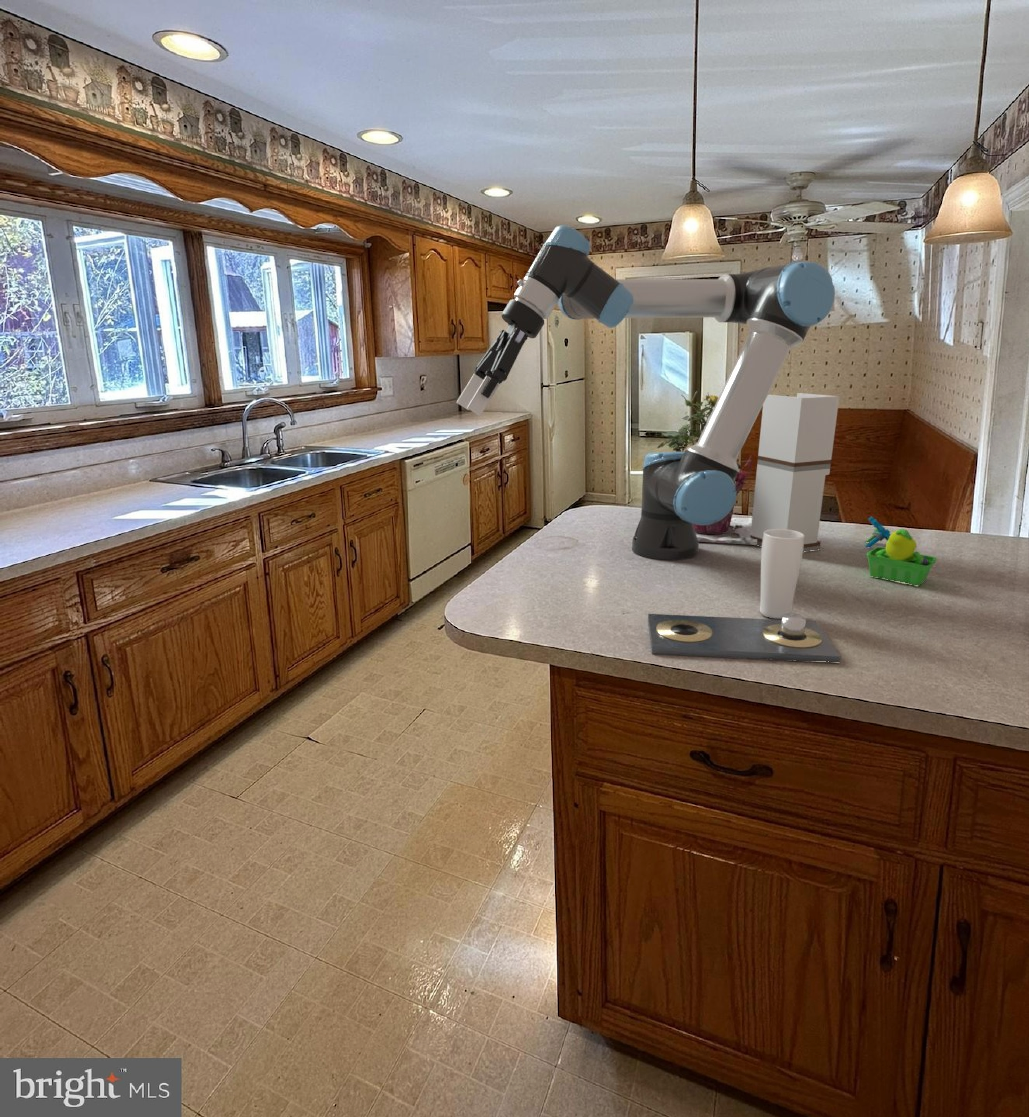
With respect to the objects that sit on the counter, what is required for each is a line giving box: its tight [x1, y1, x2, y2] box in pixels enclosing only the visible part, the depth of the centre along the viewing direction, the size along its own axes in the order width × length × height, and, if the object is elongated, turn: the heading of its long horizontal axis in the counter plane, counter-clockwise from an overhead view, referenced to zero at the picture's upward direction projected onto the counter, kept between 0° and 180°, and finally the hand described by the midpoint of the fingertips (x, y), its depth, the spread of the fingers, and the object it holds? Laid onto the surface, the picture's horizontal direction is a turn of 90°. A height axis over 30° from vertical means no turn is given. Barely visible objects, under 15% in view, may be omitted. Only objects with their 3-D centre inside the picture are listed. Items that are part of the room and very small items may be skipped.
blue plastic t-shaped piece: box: [864, 516, 892, 548], centre depth 165 cm, size 11×6×10 cm
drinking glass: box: [759, 529, 804, 620], centre depth 124 cm, size 7×7×15 cm
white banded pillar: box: [750, 392, 840, 552], centre depth 162 cm, size 11×11×35 cm
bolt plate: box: [647, 613, 842, 663], centre depth 115 cm, size 28×14×4 cm, turn 82°
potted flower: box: [656, 390, 757, 546], centre depth 177 cm, size 27×25×35 cm
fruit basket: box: [866, 528, 937, 586], centre depth 142 cm, size 11×9×11 cm
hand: (467, 409), depth 132 cm, fingers open, 13 cm apart
